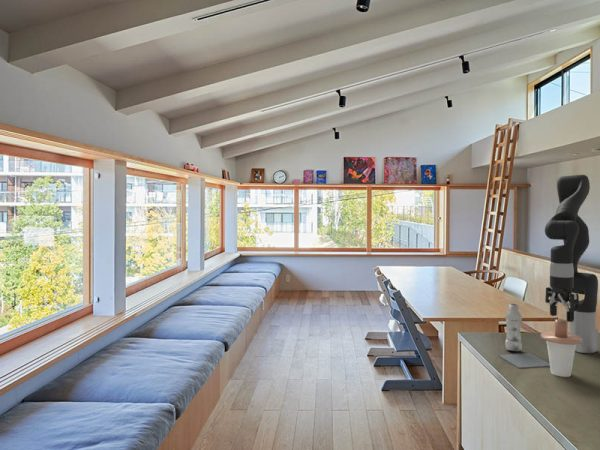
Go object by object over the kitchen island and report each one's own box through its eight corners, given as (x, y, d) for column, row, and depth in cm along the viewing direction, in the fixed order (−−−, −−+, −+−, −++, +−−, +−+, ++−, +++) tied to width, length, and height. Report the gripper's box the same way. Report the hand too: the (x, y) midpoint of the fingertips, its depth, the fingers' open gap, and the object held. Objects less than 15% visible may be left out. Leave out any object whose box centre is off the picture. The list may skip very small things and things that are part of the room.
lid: (564, 332, 167) (564, 315, 167) (590, 343, 154) (591, 324, 154) (533, 334, 165) (533, 316, 165) (557, 345, 152) (557, 325, 152)
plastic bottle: (518, 348, 189) (518, 302, 188) (524, 353, 182) (524, 306, 181) (502, 347, 190) (502, 302, 189) (508, 353, 183) (508, 306, 182)
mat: (529, 354, 181) (529, 353, 181) (552, 366, 167) (552, 365, 167) (498, 355, 180) (498, 354, 180) (518, 368, 166) (518, 367, 166)
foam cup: (578, 379, 154) (578, 344, 154) (549, 376, 157) (549, 341, 157) (572, 370, 163) (572, 336, 163) (544, 367, 166) (544, 334, 166)
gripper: (585, 277, 152) (585, 323, 153) (557, 271, 166) (557, 313, 167) (566, 278, 151) (566, 324, 152) (539, 272, 165) (539, 314, 166)
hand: (561, 318), depth 159 cm, fingers open, 8 cm apart
